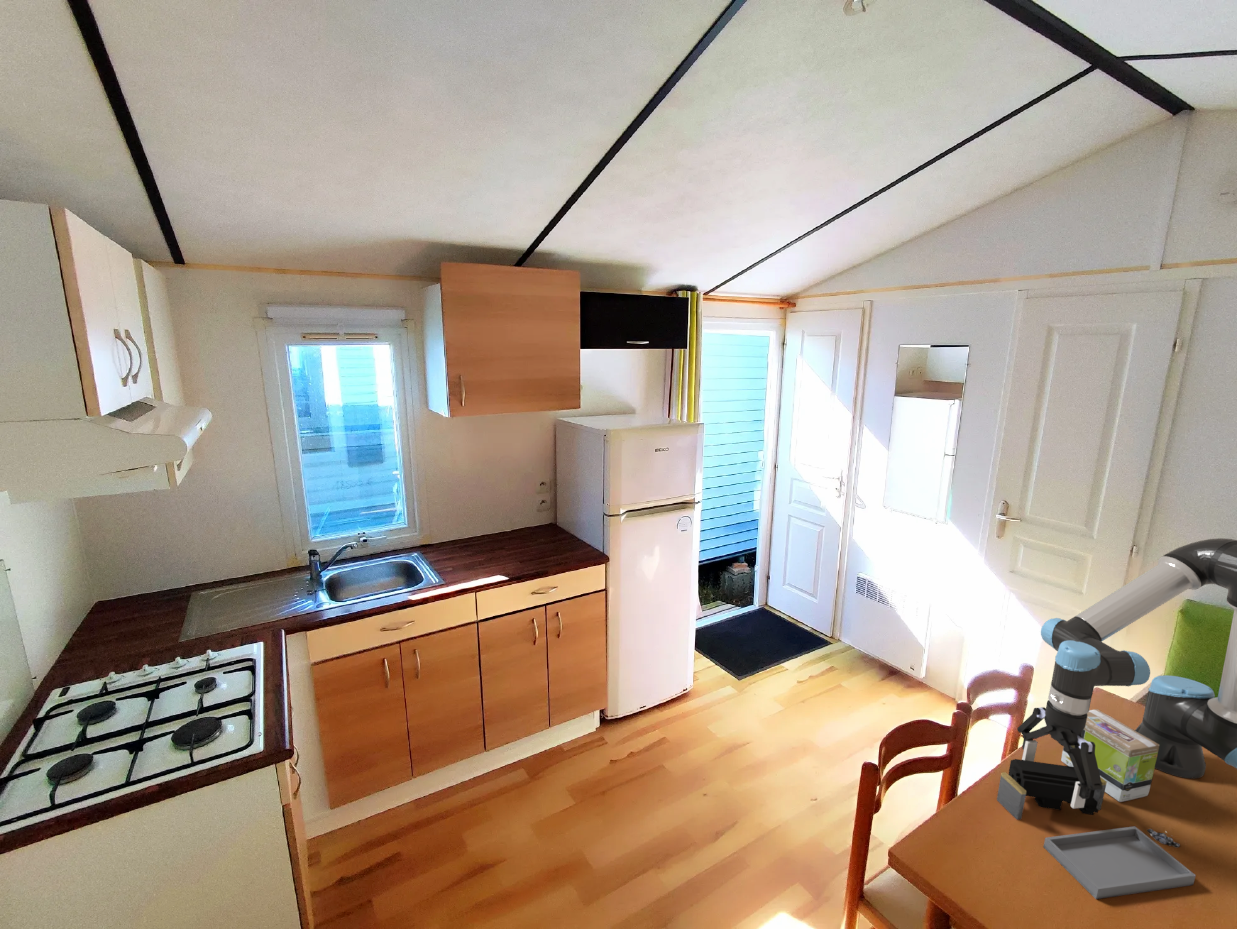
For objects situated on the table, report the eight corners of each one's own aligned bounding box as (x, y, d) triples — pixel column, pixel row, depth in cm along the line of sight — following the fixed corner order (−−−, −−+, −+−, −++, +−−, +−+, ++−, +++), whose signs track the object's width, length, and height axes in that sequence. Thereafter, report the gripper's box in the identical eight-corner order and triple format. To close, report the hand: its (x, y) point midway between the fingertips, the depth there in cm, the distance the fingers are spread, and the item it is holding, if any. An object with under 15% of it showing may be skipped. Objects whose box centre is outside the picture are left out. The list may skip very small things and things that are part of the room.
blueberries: (1141, 822, 133) (1142, 815, 133) (1189, 841, 127) (1190, 834, 127) (1138, 839, 129) (1139, 832, 128) (1188, 860, 123) (1189, 852, 123)
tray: (1132, 835, 129) (1135, 826, 128) (1193, 885, 117) (1195, 875, 116) (1043, 846, 125) (1045, 837, 125) (1095, 899, 114) (1098, 889, 113)
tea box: (1149, 796, 140) (1162, 744, 137) (1119, 803, 138) (1131, 751, 135) (1087, 754, 154) (1097, 706, 151) (1058, 760, 152) (1068, 712, 149)
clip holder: (1077, 790, 142) (1083, 763, 140) (1100, 809, 136) (1106, 781, 134) (996, 799, 138) (1001, 772, 137) (1016, 819, 133) (1021, 791, 131)
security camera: (1103, 823, 132) (1111, 786, 130) (1015, 810, 135) (1022, 774, 133) (1085, 800, 138) (1092, 765, 136) (1002, 788, 142) (1008, 754, 140)
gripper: (1009, 676, 143) (996, 749, 147) (1105, 744, 119) (1086, 828, 123) (1035, 675, 144) (1021, 747, 148) (1136, 741, 120) (1115, 825, 124)
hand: (1050, 784), depth 136 cm, fingers open, 13 cm apart
